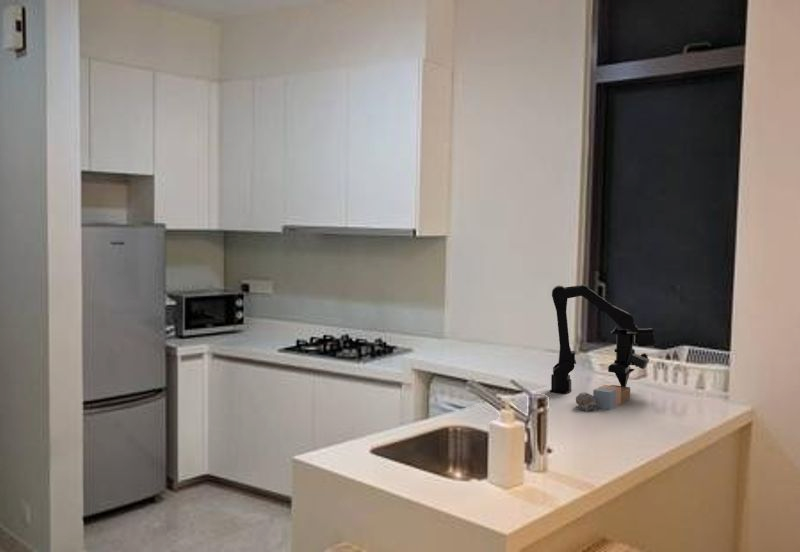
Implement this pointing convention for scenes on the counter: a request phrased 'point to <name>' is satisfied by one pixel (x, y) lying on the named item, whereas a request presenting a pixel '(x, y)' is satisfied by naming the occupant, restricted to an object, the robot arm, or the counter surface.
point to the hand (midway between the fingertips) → (623, 388)
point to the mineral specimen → (586, 402)
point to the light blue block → (605, 398)
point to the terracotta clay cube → (618, 392)
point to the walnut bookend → (624, 393)
